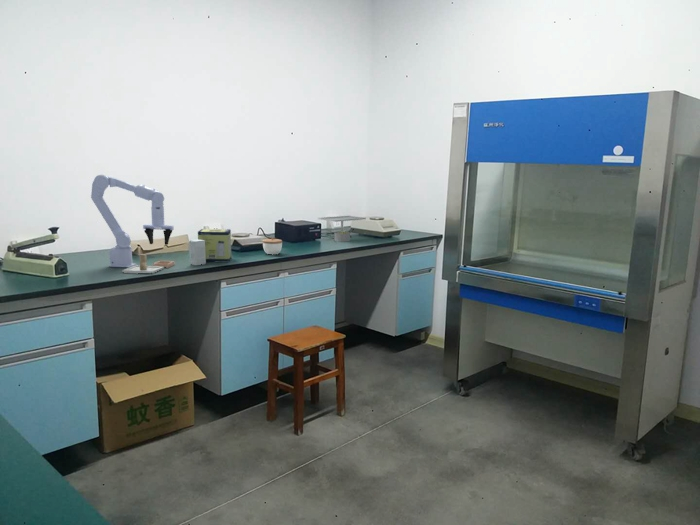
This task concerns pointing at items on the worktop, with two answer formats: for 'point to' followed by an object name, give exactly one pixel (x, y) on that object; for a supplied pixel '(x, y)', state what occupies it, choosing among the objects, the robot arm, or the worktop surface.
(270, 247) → the lidded jar
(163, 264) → the pin cup
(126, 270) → the tray
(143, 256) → the dowel pin
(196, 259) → the skincare box
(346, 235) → the solar panel model
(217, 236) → the protein box
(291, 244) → the worktop surface
